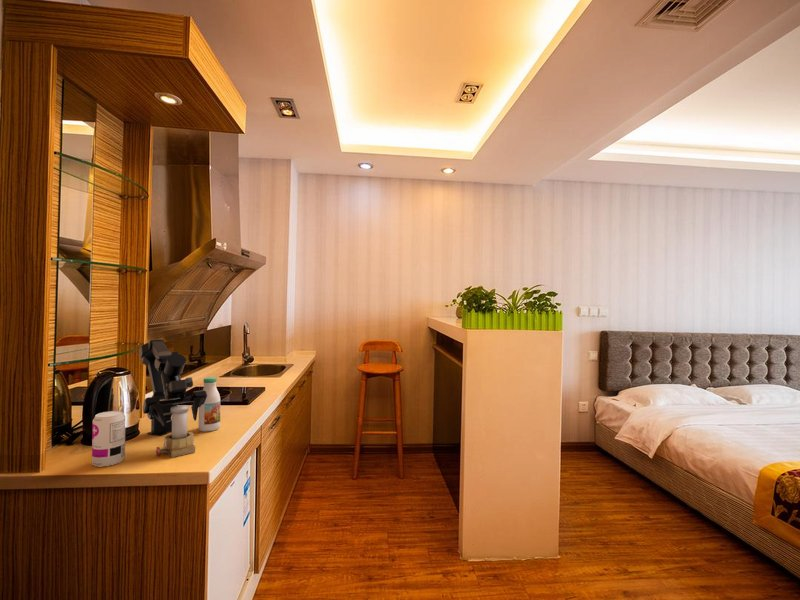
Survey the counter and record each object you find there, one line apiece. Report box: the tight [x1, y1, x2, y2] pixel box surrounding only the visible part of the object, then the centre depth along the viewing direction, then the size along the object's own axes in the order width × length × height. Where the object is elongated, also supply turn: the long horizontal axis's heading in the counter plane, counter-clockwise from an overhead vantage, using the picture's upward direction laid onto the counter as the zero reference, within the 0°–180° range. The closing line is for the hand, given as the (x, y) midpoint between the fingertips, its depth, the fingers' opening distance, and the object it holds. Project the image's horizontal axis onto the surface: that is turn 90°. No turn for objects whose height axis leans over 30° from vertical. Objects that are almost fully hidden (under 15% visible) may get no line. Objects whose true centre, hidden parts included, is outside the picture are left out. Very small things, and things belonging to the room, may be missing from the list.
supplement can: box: [91, 410, 126, 467], centre depth 123 cm, size 8×8×15 cm
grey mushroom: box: [171, 404, 189, 439], centre depth 133 cm, size 5×5×12 cm
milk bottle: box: [197, 376, 221, 433], centre depth 156 cm, size 8×8×20 cm
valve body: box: [155, 431, 196, 459], centre depth 133 cm, size 14×11×5 cm
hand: (180, 422), depth 132 cm, fingers open, 9 cm apart
